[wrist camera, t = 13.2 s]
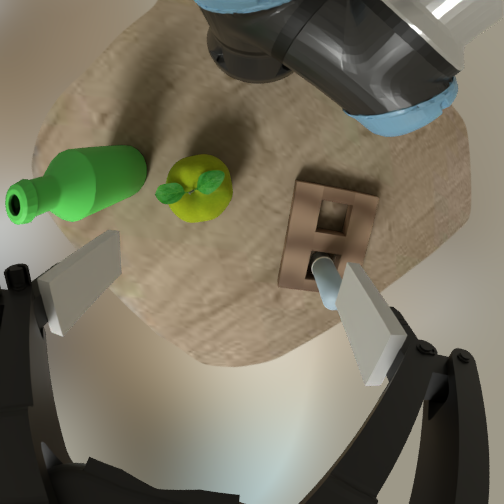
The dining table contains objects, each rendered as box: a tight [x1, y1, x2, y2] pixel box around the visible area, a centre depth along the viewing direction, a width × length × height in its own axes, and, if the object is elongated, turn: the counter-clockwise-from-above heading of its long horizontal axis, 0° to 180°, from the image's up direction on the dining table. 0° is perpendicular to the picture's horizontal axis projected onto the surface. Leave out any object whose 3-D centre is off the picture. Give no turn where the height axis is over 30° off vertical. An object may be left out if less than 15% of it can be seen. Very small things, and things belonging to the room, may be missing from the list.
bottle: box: [5, 145, 147, 225], centre depth 30 cm, size 9×9×25 cm
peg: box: [310, 252, 342, 310], centre depth 40 cm, size 4×4×12 cm
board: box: [278, 180, 379, 292], centre depth 43 cm, size 17×13×2 cm
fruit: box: [155, 154, 233, 223], centre depth 37 cm, size 9×9×10 cm
